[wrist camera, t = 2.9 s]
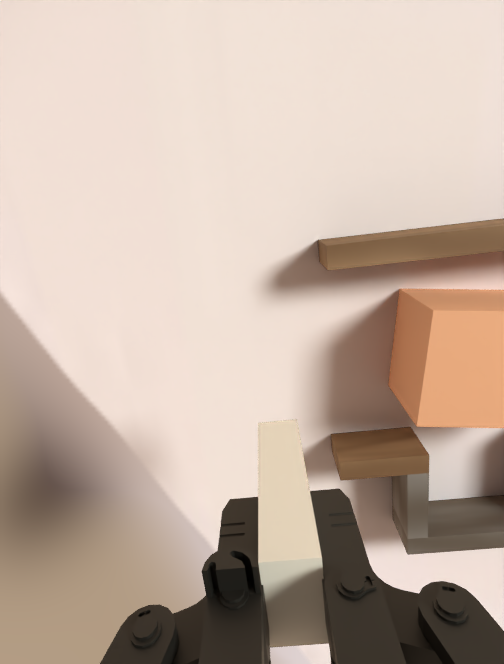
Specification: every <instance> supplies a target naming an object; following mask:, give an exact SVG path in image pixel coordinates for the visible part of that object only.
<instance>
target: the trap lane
mask: <svg viewBox="0 0 504 664" xmlns="http://www.w3.org/2000/svg"><path fill="white" fill-rule="evenodd" d="M318 246H319V261H320V263H321V264H322V265H323V266H324V267H325V268H326V269H327V270H337V269H346V268H355V267H364V266H373V265H382V264H391V263H400V262H409V261H418V260H427V259H436V258H445V257H454V256H463V255H472V254H481V253H490V252H498V251H504V219H495V220H487V221H478V222H469V223H461V224H452V225H443V226H435V227H426V228H417V229H409V230H400V231H391V232H383V233H374V234H366V235H357V236H348V237H340V238H331V239H322V240H318ZM331 442H332V452H333V456H334V459H335V462H336V466H337V469H338V473H339V476H340V480H352V479H364V478H376V477H388V476H392V504H393V521H394V523H395V525H396V528H397V530H398V533H399V535H400V537H401V540H402V542H403V545H404V547H405V549H406V552H407V554H408V555H409V554H423V553H436V552H450V551H463V550H476V549H490V548H503V547H504V495H501V496H488V497H476V498H464V499H451V500H439V501H428V494H429V454H428V453H427V451H426V450H425V448H424V447H423V445H422V444H421V442H420V441H419V439H418V437H417V436H416V434H415V433H414V431H413V430H412V428H411V427H405V428H394V429H383V430H372V431H361V432H350V433H339V434H331Z"/></svg>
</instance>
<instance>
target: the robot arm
mask: <svg viewBox="0 0 504 664" xmlns="http://www.w3.org/2000/svg"><path fill="white" fill-rule="evenodd" d="M202 574H203V580H204V585H205V591H206V596H205V597H204V598H203V599H202V600H201V601H199V602H198V603H197V604H195V605H193V606H191V607H189V608H187V609H184V610H181V611H179V612H177V613H174V614H172V613H171V611H170V610H169V609H168V608H166V607H164V606H161V605H148V606H145V607H143V608H140V609H138V610H137V611H135V612H134V613H133V614H131V615H130V616H129V617H128V618H127V619H126V621H125V622H124V623H123V625H122V626H121V627H120V629H119V631H118V633H117V634H116V636H115V638H114V640H113V642H112V643H111V645H110V647H109V649H108V650H107V652H106V654H105V656H104V658H103V660H102V661H101V663H100V664H271V661H270V647H283V646H297V645H311V644H326V643H329V647H330V655H331V664H504V631H503V630H502V628H501V627H500V626H499V625H498V624H497V622H496V621H495V620H494V619H493V618H492V617H491V615H490V614H489V613H488V612H487V611H486V609H485V608H484V607H483V606H482V605H481V604H480V602H479V601H478V600H477V599H476V598H475V597H474V596H473V595H472V594H471V593H469V592H468V591H467V590H466V589H464V588H462V587H460V586H458V585H456V584H453V583H448V582H444V581H440V582H431V583H430V584H428V585H426V586H424V587H423V588H422V590H421V592H420V593H419V594H418V593H413V592H408V591H404V590H400V589H397V588H394V587H392V586H390V585H388V584H386V583H384V582H383V581H382V580H381V579H380V578H378V577H377V575H376V574H375V573H374V572H373V570H372V568H371V566H370V564H369V560H368V557H367V554H366V551H365V548H364V544H363V541H362V538H361V535H360V532H359V528H358V525H357V522H356V519H355V516H354V513H353V509H352V506H351V503H350V500H349V498H348V497H347V496H346V495H345V494H344V493H343V492H342V491H341V490H340V489H330V490H319V491H310V489H309V484H308V478H307V473H306V467H305V462H304V456H303V451H302V445H301V440H300V434H299V429H298V423H297V419H295V420H284V421H274V422H264V423H258V497H251V498H240V499H230V500H229V502H228V503H227V505H226V506H225V508H224V510H223V511H222V519H221V528H220V538H219V545H218V551H217V552H215V553H214V554H212V555H211V556H210V557H209V558H208V559H207V561H206V562H205V564H204V567H203V569H202Z"/></svg>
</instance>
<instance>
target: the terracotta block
mask: <svg viewBox="0 0 504 664" xmlns="http://www.w3.org/2000/svg"><path fill="white" fill-rule="evenodd" d="M388 386H389V387H390V389H391V390H392V392H393V393H394V394H395V396H396V397H397V399H398V400H399V402H400V403H401V405H402V406H403V408H404V409H405V410H406V412H407V413H408V415H409V416H410V418H411V419H412V421H413V422H414V424H415V425H416V426H417V427H468V428H504V290H467V289H399V298H398V306H397V315H396V323H395V332H394V341H393V349H392V358H391V366H390V375H389V383H388Z"/></svg>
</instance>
